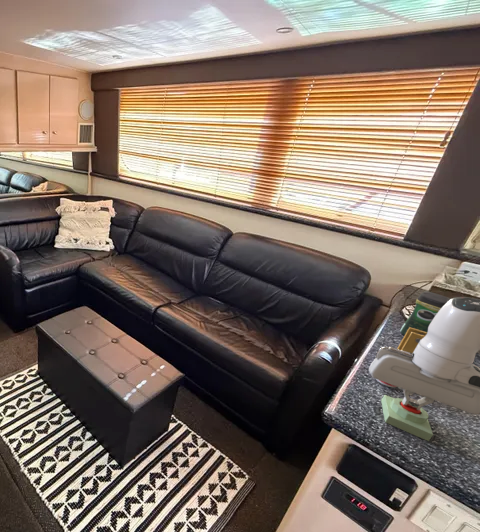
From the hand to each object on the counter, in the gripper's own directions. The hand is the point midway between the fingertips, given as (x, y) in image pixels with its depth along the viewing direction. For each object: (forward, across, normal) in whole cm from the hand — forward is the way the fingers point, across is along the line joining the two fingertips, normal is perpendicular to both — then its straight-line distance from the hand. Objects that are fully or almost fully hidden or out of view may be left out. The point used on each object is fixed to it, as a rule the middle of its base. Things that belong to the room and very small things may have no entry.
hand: (410, 406), depth 80 cm
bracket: (+4, +6, +36) cm, 36 cm away
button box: (+4, 0, 0) cm, 4 cm away
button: (+2, 0, 0) cm, 2 cm away
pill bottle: (+4, -1, +17) cm, 18 cm away
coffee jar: (+4, +15, +63) cm, 65 cm away
